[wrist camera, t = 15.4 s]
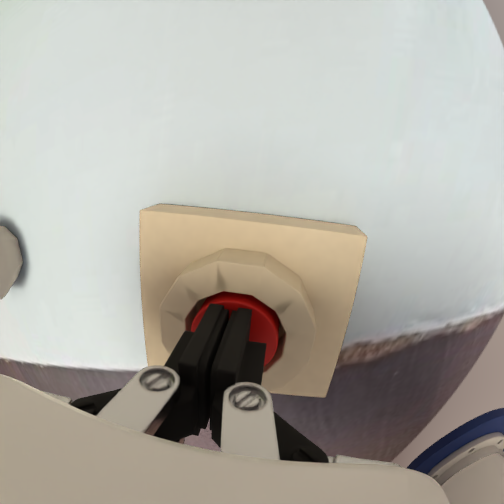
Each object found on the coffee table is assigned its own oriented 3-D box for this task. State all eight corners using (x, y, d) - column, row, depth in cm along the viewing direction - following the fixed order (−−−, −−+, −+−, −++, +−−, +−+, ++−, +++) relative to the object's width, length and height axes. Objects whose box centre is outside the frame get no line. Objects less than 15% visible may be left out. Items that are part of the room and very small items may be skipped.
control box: (356, 225, 14) (380, 247, 10) (322, 373, 16) (328, 421, 13) (158, 203, 15) (118, 216, 11) (161, 349, 17) (135, 389, 13)
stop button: (284, 289, 13) (284, 307, 11) (273, 356, 14) (271, 379, 12) (202, 278, 13) (190, 294, 11) (200, 345, 14) (190, 366, 12)
